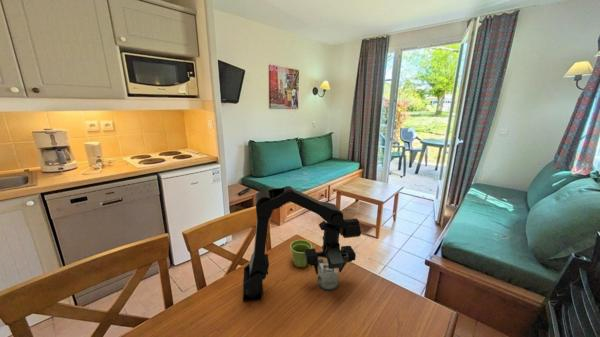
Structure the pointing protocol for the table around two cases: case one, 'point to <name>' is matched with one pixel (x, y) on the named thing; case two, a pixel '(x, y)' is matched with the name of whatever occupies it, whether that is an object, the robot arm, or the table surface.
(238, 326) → the table surface
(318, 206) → the robot arm
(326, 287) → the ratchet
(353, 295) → the table surface
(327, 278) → the block with round boss
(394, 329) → the table surface
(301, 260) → the plant pot
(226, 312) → the table surface
